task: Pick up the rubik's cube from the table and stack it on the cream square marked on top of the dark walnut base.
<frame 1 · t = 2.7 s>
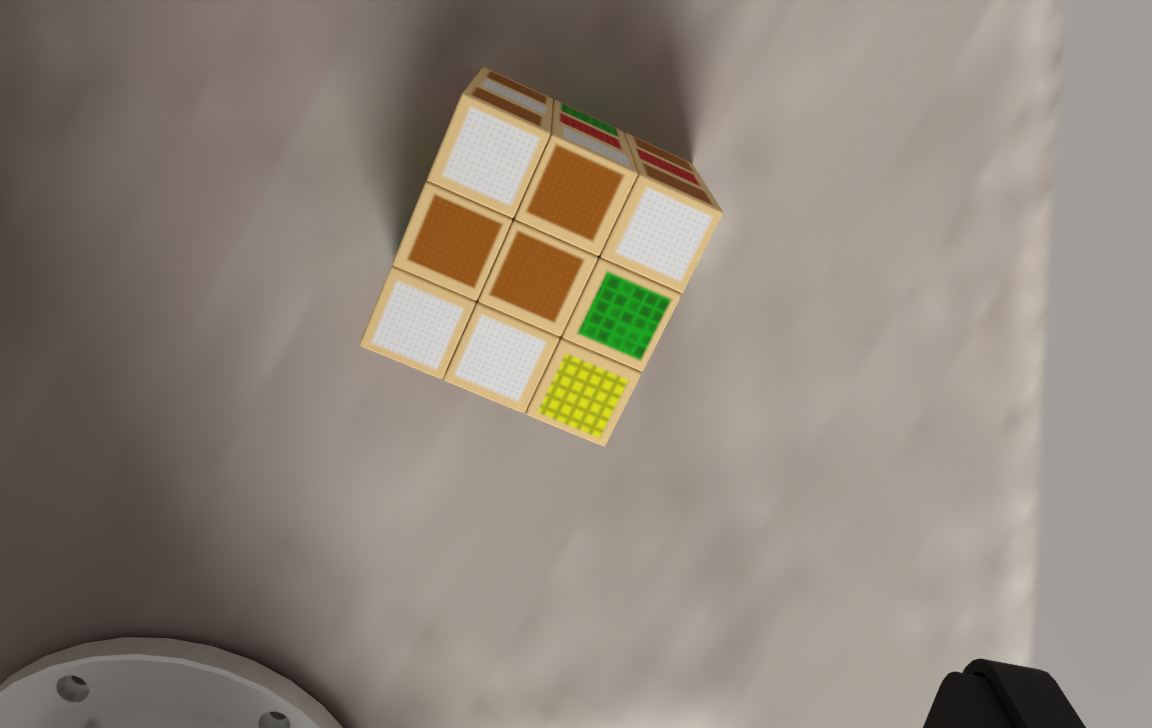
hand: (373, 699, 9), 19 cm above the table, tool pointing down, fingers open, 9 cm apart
rubik's cube: (542, 217, 27), on the table
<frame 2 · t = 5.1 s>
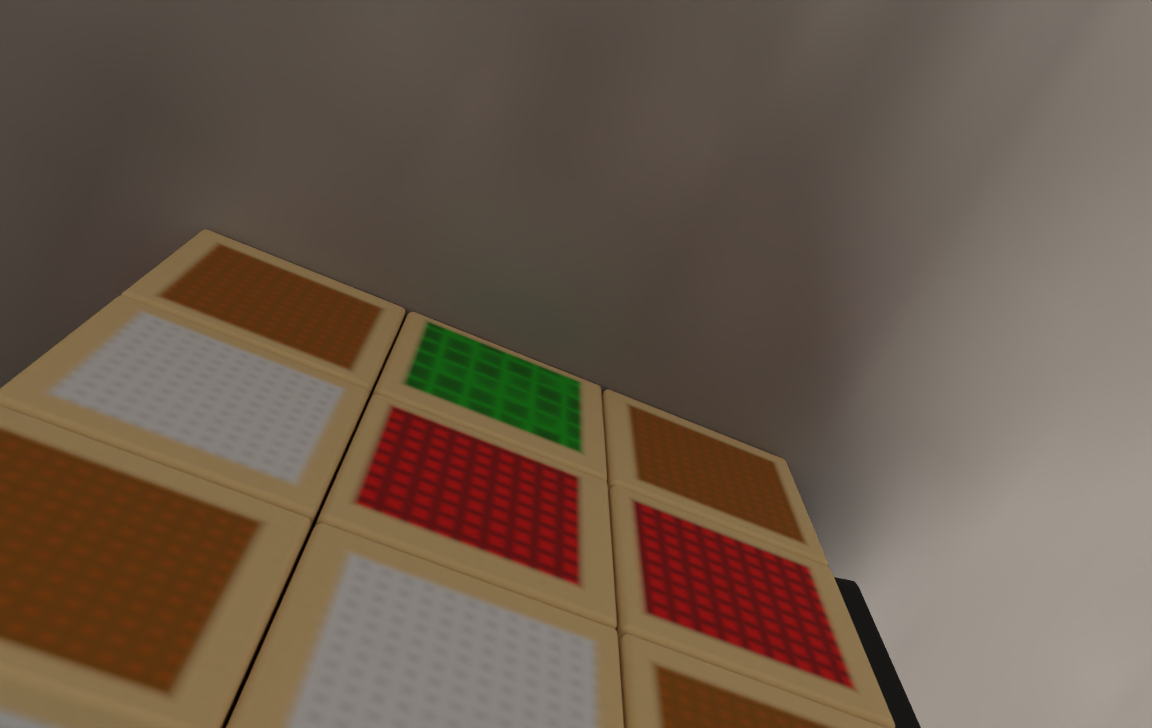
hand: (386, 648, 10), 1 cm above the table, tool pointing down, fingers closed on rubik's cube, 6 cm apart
rubik's cube: (403, 583, 11), on the table, touching gripper
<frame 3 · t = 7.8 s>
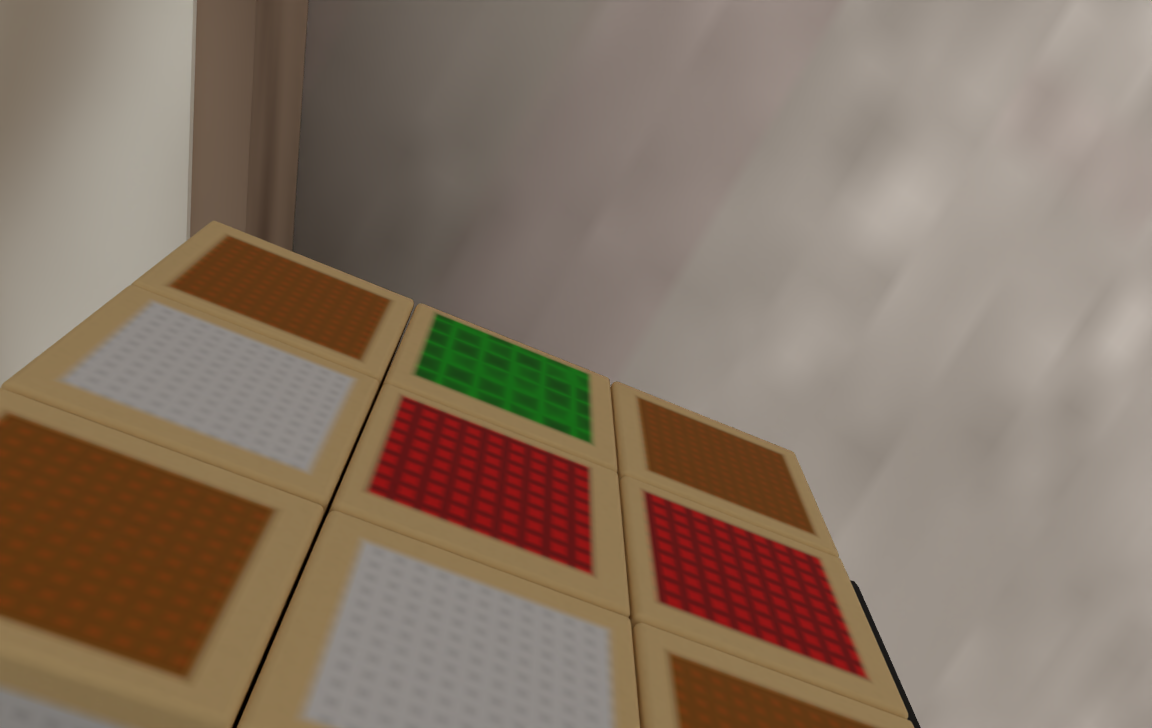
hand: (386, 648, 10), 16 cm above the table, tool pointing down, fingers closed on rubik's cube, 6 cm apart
walnut base: (63, 148, 24), on the table
rubik's cube: (410, 576, 11), point 14 cm above the table, touching gripper
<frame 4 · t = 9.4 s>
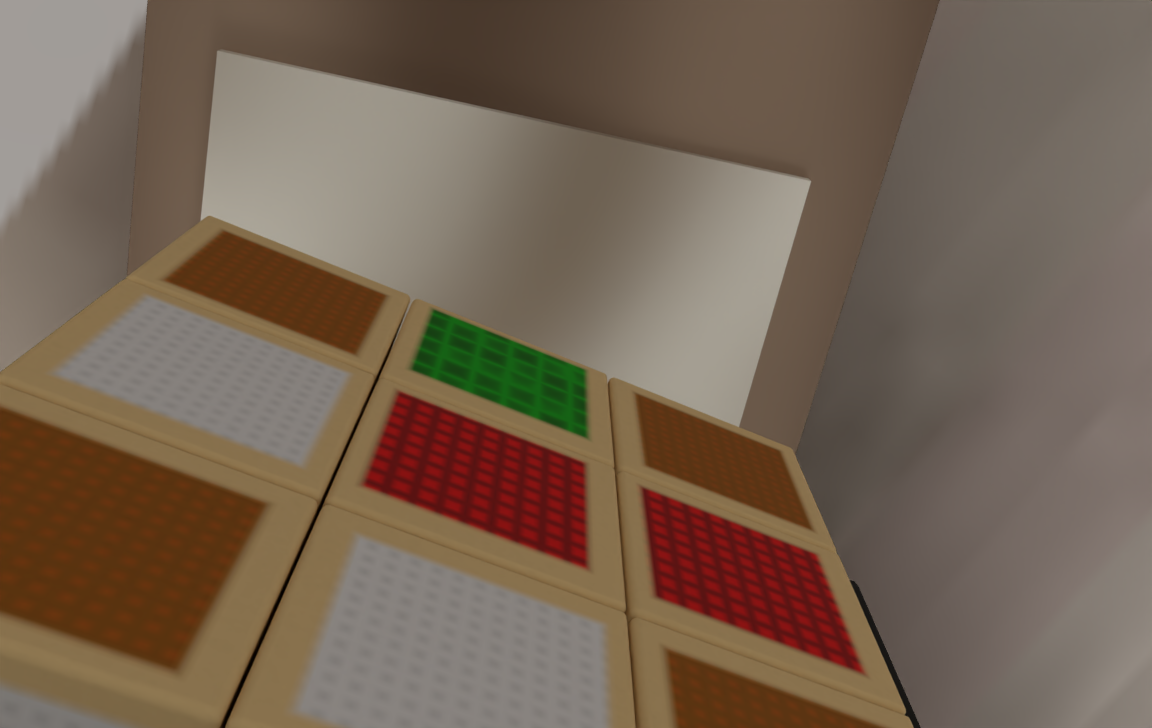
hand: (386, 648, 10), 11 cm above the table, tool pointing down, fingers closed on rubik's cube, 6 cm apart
walnut base: (488, 304, 20), on the table
rubik's cube: (407, 573, 11), point 10 cm above the table, touching gripper
when the fingers open (6 cm above the table, at t = 10.7 s): rubik's cube stays where it is, resting on walnut base.
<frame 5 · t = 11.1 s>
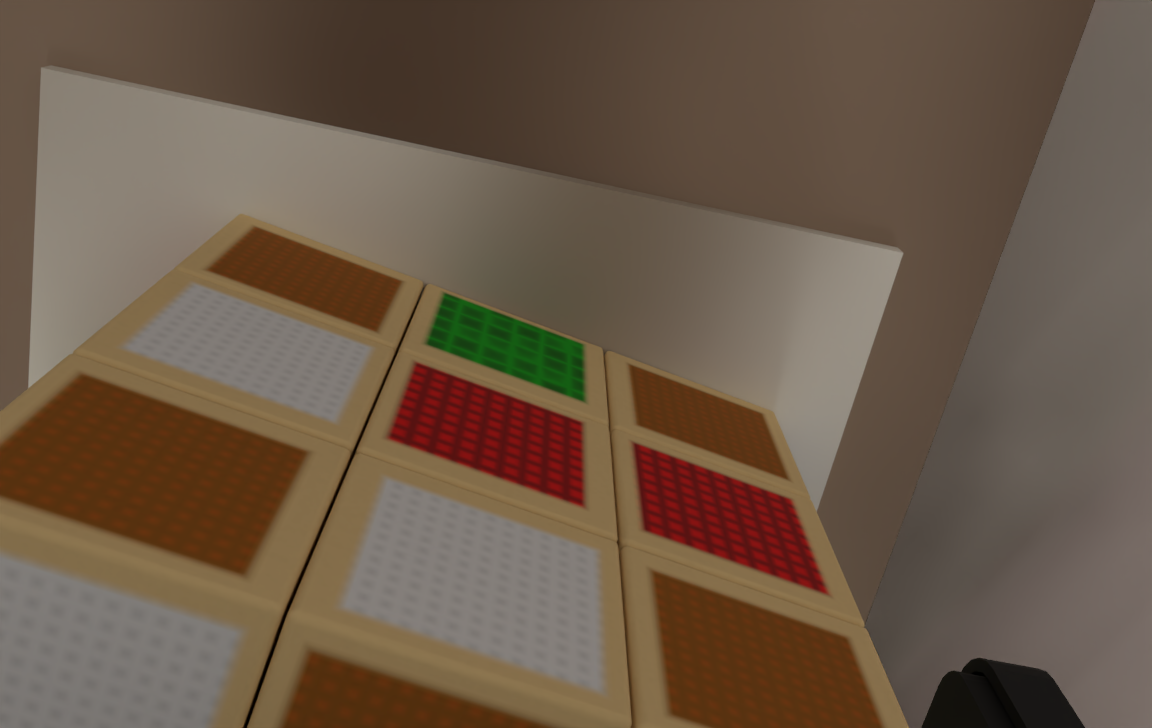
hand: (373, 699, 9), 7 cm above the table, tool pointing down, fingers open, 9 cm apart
walnut base: (455, 385, 15), on the table
rubik's cube: (427, 537, 12), point 4 cm above the table, touching walnut base
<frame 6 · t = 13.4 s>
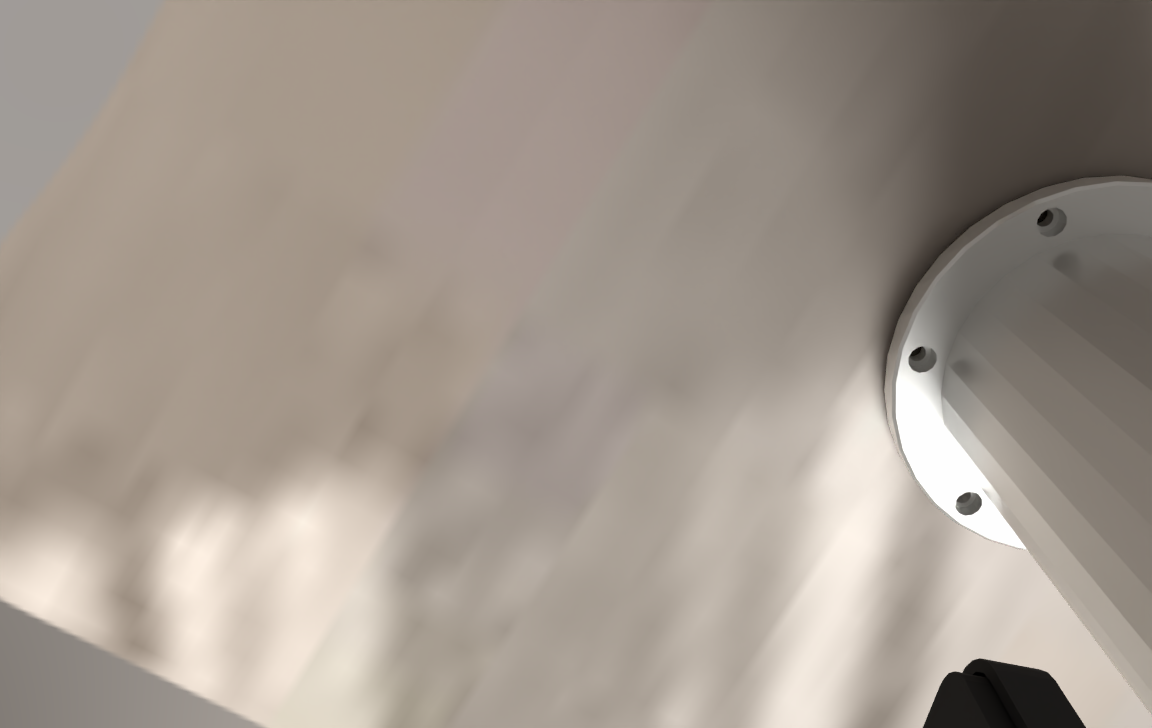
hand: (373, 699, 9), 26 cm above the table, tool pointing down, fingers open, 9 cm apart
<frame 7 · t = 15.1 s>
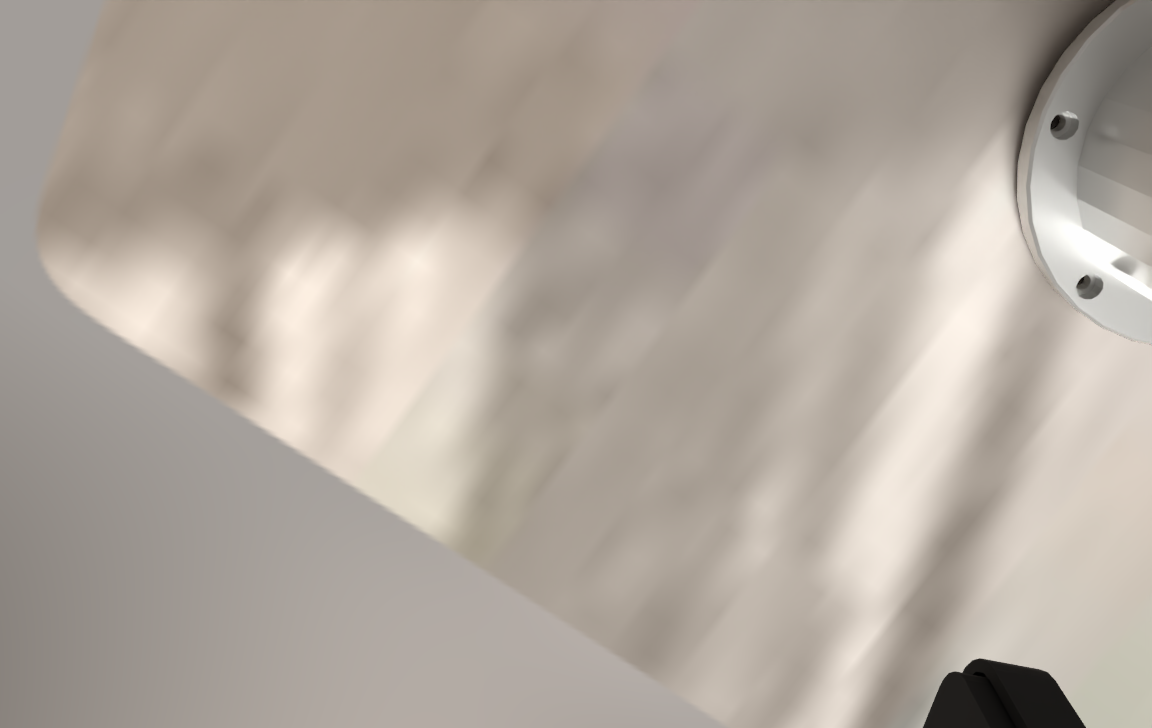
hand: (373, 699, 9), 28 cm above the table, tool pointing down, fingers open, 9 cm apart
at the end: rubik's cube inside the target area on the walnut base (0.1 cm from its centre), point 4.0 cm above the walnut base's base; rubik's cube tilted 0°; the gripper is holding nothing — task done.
